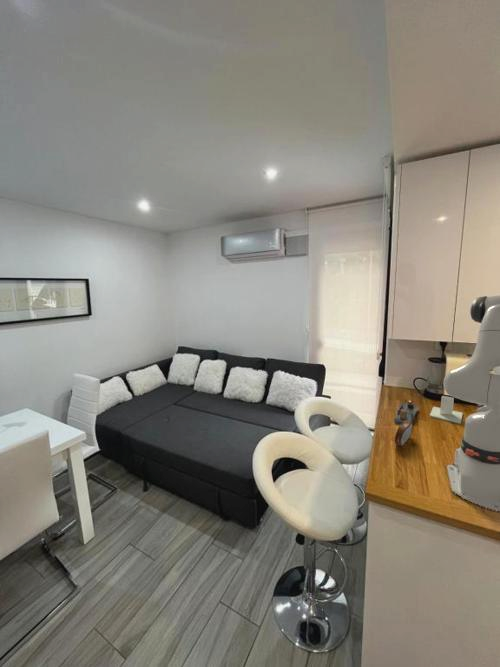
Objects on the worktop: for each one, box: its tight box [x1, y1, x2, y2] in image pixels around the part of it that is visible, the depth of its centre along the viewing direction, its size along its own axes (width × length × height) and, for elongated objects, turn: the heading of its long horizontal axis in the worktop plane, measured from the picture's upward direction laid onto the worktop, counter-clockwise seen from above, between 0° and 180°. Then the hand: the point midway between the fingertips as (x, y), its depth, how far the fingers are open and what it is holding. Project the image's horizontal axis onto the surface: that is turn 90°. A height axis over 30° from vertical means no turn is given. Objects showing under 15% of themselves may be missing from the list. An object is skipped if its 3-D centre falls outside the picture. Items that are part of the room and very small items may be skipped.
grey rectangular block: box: [439, 395, 455, 417], centre depth 141 cm, size 4×5×9 cm
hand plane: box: [393, 399, 419, 425], centre depth 142 cm, size 22×7×6 cm, turn 139°
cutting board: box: [429, 406, 464, 425], centre depth 142 cm, size 13×13×1 cm
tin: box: [394, 420, 413, 447], centre depth 120 cm, size 15×3×8 cm, turn 133°
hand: (477, 407), depth 133 cm, fingers open, 8 cm apart
